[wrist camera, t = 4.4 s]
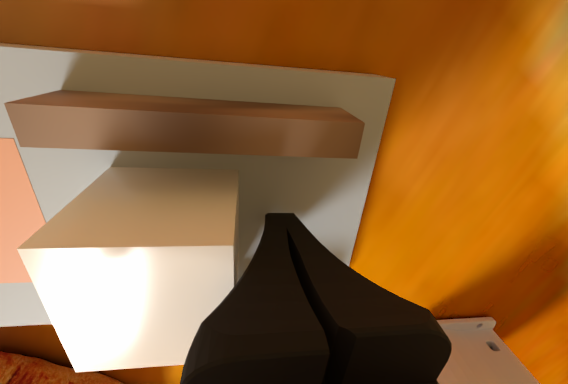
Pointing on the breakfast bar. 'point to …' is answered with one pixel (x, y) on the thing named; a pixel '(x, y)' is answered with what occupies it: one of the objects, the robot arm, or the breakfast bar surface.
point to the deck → (187, 84)
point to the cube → (137, 264)
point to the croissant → (44, 372)
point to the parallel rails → (183, 125)
